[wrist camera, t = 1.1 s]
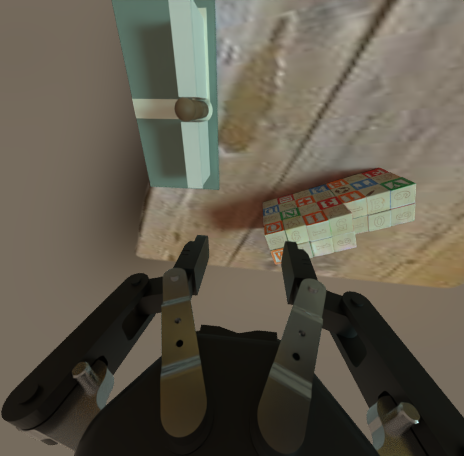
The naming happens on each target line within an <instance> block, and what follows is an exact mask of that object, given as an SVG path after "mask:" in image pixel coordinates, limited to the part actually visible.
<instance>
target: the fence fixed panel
mask: <svg viewBox="0 0 464 456" xmlns="http://www.w3.org/2000/svg"><path fill="white" fill-rule="evenodd" d="M168 2H169V12H170V21H171V30H172V40H173V49H174V58H175V68H176V77H177V86H178V96H179V97H188V98H194V99H207V84H206V61H205V38H204V18H203V17H202V15H201V13H200V11H199V9H198V8H197V6H196V4H195V2H194V1H193V0H168Z"/></svg>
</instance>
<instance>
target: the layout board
mask: <svg viewBox="0 0 464 456" xmlns="http://www.w3.org/2000/svg"><path fill="white" fill-rule="evenodd" d="M193 1H194V2H195V4H196V6H197V8H198V9H199V11H200V13H201V15H202V17H203V18H204V38H205V61H206V84H207V99H194V98H188V97H185V98H188V99H192V100H198V101H203V102H205V103H206V104H207V105H208V108H209V113H208V115H207V117H205V118H202V119H196V120H204V121H208V137H209V159H210V176H209V177H208V179H207V180H206V182H205V183H204V185H203V188H202V189H214V190H219V164H218V119H217V73H216V28H215V0H193ZM112 4H113V9H114V14H115V19H116V23H117V28H118V33H119V38H120V42H121V48H122V52H123V57H124V62H125V67H126V71H127V75H128V80H129V85H130V90H131V95H132V101H133V106H134V111H135V115H136V119H137V123H138V128H139V133H140V137H141V142H142V146H143V152H144V156H145V161H146V166H147V171H148V176H149V180H150V185H151V186H153V187H174V188H188V184H187V174H186V165H185V156H184V147H183V137H182V128H181V122H184V121H182V120H180V119H179V118H178V117H177V116H176V113H175V109H174V108H175V103H176V101H177V100H178V99H180V98H183V97H179V96H178V86H177V77H176V68H175V58H174V49H173V40H172V30H171V21H170V12H169V2H168V0H112ZM191 121H195V120H191ZM194 189H201V188H194Z"/></svg>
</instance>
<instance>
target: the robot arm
mask: <svg viewBox="0 0 464 456" xmlns="http://www.w3.org/2000/svg"><path fill="white" fill-rule="evenodd" d="M208 259H209V244H208V236H205V235H197V237H196V239H195V241H190V242H188V243H187V244H186V245H185V246H184V248H183V250H182V252H181V254H180V256H179V258H178V260H177V262H176V264H175V266H174V267H173V268H172V269H170V270H168V271H167V272H165V273H164V275H163V277H158V278H152V279H149V278H148V276H147V275H146V274H143V273H138V274H134V275H131V276H130V277H128V278H127V279H126V280H125V281H124V282H123V283H122V284H121V285H120V286H119V287H118V288H117V289H116V290H115V291H114V292H113V293H112V294H110V296H108V297H107V298H106V299H105V300H104V301H103V302H102V303H101V304H100V305H99V306H98V307H97V308H96V309H95V310H94V311H93V312H92V313H91V314H90V315H89V316H88V317H87V318H86V319H85V320H84V321H83V322H82V323H81V324H80V325H79V326H78V327H77V328H76V329H75V330H74V331H73V332H72V333H71V334H70V335H69V336H68V337H67V338H66V339H65V340H64V341H63V342H62V343H61V344H60V345H59V346H58V347H57V348H56V349H55V350H54V351H53V352H52V353H51V354H50V355H49V356H48V357H46V358H45V359H44V360H43V361H42V362H41V364H39V365H38V366H37V368H35V369H34V370H33V371H32V372H31V373H30V374H29V375H28V376H27V377H26V378H25V379H24V380H23V381H22V382H21V383H20V384H19V385H18V386H17V387H16V388H15V389H14V390H13V391H12V392H11V394H10V395H9V396H8V398H7V399H6V401H5V403H4V405H3V408H2V411H1V413H2V418H3V419H4V420H6V421H7V422H9V423H11V424H13V425H14V426H16V428H17V429H18V430H19V431H21V432H23V433H25V434H26V435H28V436H30V437H32V438H33V439H35V440H40V441H42V442H44V443H46V444H48V445H55V444H58V443H59V444H61V445H63V446H65V447H66V448H68V449H70V450H72V451H74V452H75V454H74V456H464V418H463V416H462V415H461V414H460V413H459V411H458V410H457V409H456V408H455V406H454V405H453V404H452V403H451V401H450V400H449V399H448V398H447V396H446V395H445V394H444V393H443V392H442V390H441V389H440V388H439V387H438V385H437V384H436V383H435V382H434V380H433V379H432V378H431V377H430V376H429V374H428V373H427V372H426V371H425V369H424V368H423V367H422V366H421V364H420V363H419V362H418V361H417V359H416V358H415V357H414V356H413V354H412V353H411V352H410V351H409V349H408V348H407V347H406V346H405V345H404V343H403V342H402V341H401V340H400V338H399V337H398V336H397V335H396V333H395V332H394V331H393V330H392V329H391V327H390V326H389V325H388V324H387V322H386V321H385V320H384V319H383V317H382V316H381V315H380V314H379V312H378V311H377V310H376V309H375V307H374V306H373V305H372V304H371V303H370V301H369V300H368V299H367V298H366V297H364V296H363V295H361V294H359V293H356V292H350V291H349V292H345V293H344V294H343V296H341V295H338V294H335V293H332V292H330V291H327V290H326V288H325V286H324V285H323V284H322V283H321V282H319V281H318V280H317V277H316V274H315V271H314V269H313V266H312V263H311V261H310V258H309V255H308V253H307V252H306V251H305V250H304V249H298V246H297V243H296V242H292V241H285V243H284V248H283V254H282V260H281V266H282V272H283V278H284V284H285V290H286V296H287V302H288V304H291V305H293V307H292V310H291V313H290V316H289V318H288V321H287V324H286V327H285V330H284V333H283V336H282V339H281V340H279V339H277V333H276V332H268V331H252V332H244V333H236V332H233V331H230V330H227V329H225V328H222V327H220V326H209V325H201V328H200V331H196V330H195V324H194V318H193V312H192V305H191V298H192V295H198V291H199V288H200V285H201V282H202V279H203V275H204V272H205V269H206V266H207V263H208ZM160 312H161V325H162V326H161V330H162V331H161V334H162V336H161V337H162V356H161V357H160V358H159V359H157V360H156V361H155V362H154V363H153V364H152V365H151V366H150V367H148V368H147V369H146V370H145V371H144V372H143V373H142V374H141V375H140V376H138V377H137V378H136V379H135V380H134V381H133V382H132V383H130V384H129V385H128V386H127V387H126V388H125V389H124V390H123V391H122V392H120V393H119V394H118V395H117V396H116V397H115V398H114V399H113V400H111V401H110V402H109V403H108V404H107V405H106V401H107V399H108V397H109V395H110V393H111V391H112V389H113V385H114V377H113V375H114V373H115V372H116V370H117V369H118V367H119V366H120V365H121V363H122V362H123V360H124V359H125V357H126V356H127V354H128V353H129V352H130V350H131V349H132V347H133V346H134V344H135V343H136V342H137V340H138V339H139V337H140V336H141V334H142V333H143V332H144V330H145V329H146V327H147V326H148V324H149V323H150V321H151V320H152V319H153V317H154V316H155V314H156V313H160ZM322 328H323V329H326V330H328V331H330V333H331V335H332V337H333V339H334V341H335V343H336V345H337V347H338V349H339V350H340V353H341V354H342V356H343V358H344V360H345V362H346V364H347V366H348V368H349V370H350V372H351V374H352V375H353V378H354V380H355V381H356V383H357V385H358V387H359V389H360V391H361V393H362V395H363V397H364V399H365V401H366V403H367V405H368V406H369V410H368V411H367V423H368V427H369V429H370V432H371V435H372V439H373V445H372V444H371V443H370V441H369V440H368V439H367V438H366V436H365V435H364V434H363V433H362V431H361V430H360V429H359V428H358V427H357V425H356V424H355V423H354V422H353V420H352V419H351V418H350V417H349V415H348V414H347V413H346V412H345V410H344V409H343V408H342V407H341V405H340V404H339V403H338V402H337V401H336V399H335V398H334V397H333V396H332V394H331V393H330V392H329V391H328V390H327V388H326V387H325V386H324V385H323V384H322V382H321V381H320V380H319V379H318V377H317V376H316V375H315V374H314V370H315V365H316V359H317V353H318V346H319V341H320V335H321V330H322Z"/></svg>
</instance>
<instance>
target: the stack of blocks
mask: <svg viewBox="0 0 464 456" xmlns="http://www.w3.org/2000/svg"><path fill="white" fill-rule="evenodd" d="M415 195H416V183H414V182H412V181H410V180H407V179H405V178H403V177H399V176H397V175H395V174H393V173H391V172H388V171H386V170H384V169H382V168H377V169H374V170H371V171H368V172H365V173H362V174H357V175H353V176H350V177H347V178H344V179H340V180H336V181H333V182H330V183H326V184H325V185H321V186H318V187H314V188H311V189H309V190H305V191H301V192H298V193H295V194H290V195H287V196H284V197H280V198H277V199H273V200H270V201H266V202H263V203H262V204H263V226H264V232H265V238H266V241H267V243H268V246H269V249H270V251H271V255H272V257H273V260H274V263H275V264H281V260H282V254H283V248H284V243H285V241H292V242H296V243H297V246H298V249H304V250H305V251H306V252H307V253H308V255H309V258H312V257H314V256H315V257H317V256H321V255H325V254H330V253H333V252H337V251H342V250H346V249H350V248H355V247H357V246H356V239H355V234H359V233H363V232H367V231H373V230H378V229H382V228H386V227H390V226H393V225H398V224H402V223H406V222H410V221H414V216H415Z"/></svg>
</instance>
